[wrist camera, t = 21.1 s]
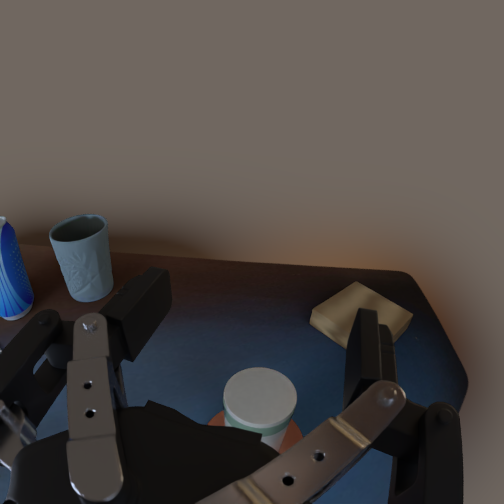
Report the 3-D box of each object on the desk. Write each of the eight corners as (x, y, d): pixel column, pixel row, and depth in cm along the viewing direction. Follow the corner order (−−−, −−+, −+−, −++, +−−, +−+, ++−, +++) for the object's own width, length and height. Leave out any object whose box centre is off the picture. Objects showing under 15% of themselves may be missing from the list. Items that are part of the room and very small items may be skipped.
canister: (281, 423, 32) (296, 369, 27) (280, 470, 26) (298, 427, 21) (227, 418, 32) (228, 363, 27) (220, 465, 27) (218, 420, 22)
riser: (407, 328, 47) (413, 314, 46) (371, 366, 40) (378, 352, 38) (352, 294, 55) (356, 281, 53) (309, 323, 48) (312, 308, 46)
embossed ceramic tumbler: (120, 270, 56) (111, 211, 50) (114, 304, 48) (101, 238, 42) (71, 274, 54) (58, 216, 48) (59, 307, 45) (40, 244, 39)
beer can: (38, 315, 43) (10, 227, 35) (-3, 328, 38) (-37, 243, 30) (34, 288, 48) (12, 209, 40) (-3, 301, 44) (-30, 222, 36)
